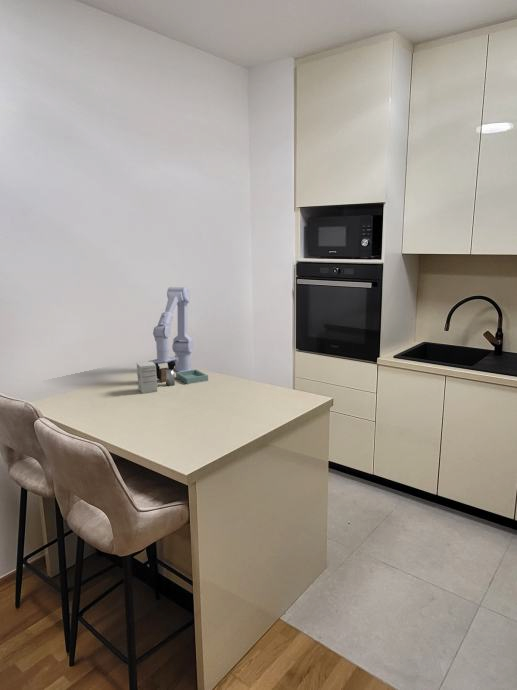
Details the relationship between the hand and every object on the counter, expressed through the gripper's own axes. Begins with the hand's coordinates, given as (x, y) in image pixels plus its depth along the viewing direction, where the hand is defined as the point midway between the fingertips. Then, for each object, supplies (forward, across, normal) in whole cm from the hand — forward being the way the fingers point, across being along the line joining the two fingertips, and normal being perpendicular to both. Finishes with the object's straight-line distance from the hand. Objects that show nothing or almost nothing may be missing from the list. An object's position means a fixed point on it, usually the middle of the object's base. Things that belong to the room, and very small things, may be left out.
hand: (164, 377), depth 231 cm
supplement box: (+2, -12, -11) cm, 16 cm away
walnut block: (+2, 0, 0) cm, 2 cm away
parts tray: (+2, +12, -4) cm, 13 cm away
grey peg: (+2, 0, -8) cm, 8 cm away
